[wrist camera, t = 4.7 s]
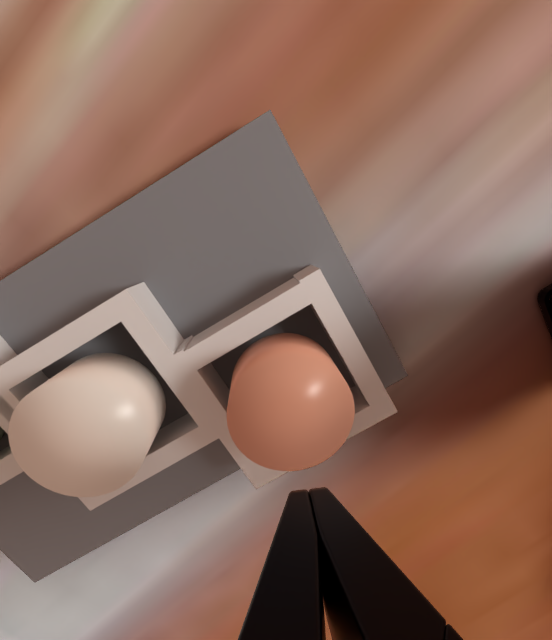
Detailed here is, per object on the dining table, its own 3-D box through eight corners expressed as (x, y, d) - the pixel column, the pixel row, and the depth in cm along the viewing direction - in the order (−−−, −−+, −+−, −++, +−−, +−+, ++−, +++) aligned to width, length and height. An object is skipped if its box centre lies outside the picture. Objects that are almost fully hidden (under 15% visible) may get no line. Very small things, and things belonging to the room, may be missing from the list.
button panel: (395, 364, 17) (429, 394, 14) (51, 555, 19) (7, 625, 15) (268, 122, 14) (273, 86, 11) (-130, 374, 16) (-236, 411, 12)
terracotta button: (354, 398, 14) (376, 433, 12) (266, 447, 15) (268, 491, 12) (304, 312, 13) (316, 330, 11) (210, 367, 13) (200, 397, 11)
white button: (186, 418, 14) (172, 458, 11) (100, 468, 14) (67, 517, 12) (122, 332, 13) (90, 355, 10) (30, 388, 13) (-22, 423, 11)
